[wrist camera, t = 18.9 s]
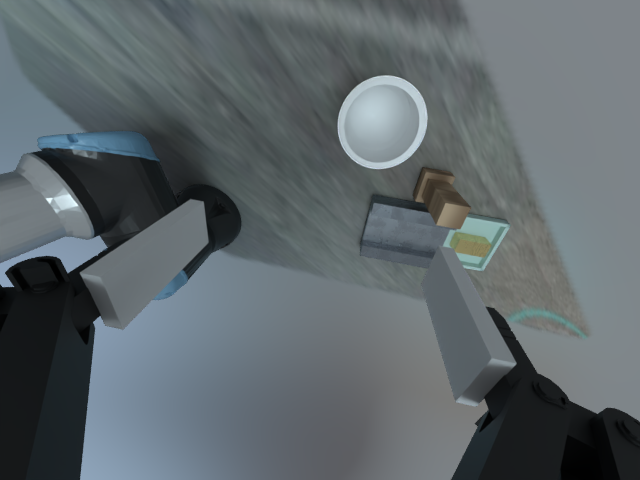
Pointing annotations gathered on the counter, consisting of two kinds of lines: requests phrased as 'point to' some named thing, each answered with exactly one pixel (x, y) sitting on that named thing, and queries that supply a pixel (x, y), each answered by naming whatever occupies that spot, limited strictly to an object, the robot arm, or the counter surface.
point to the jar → (382, 122)
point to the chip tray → (483, 228)
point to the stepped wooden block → (441, 198)
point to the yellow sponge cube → (480, 246)
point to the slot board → (401, 232)
